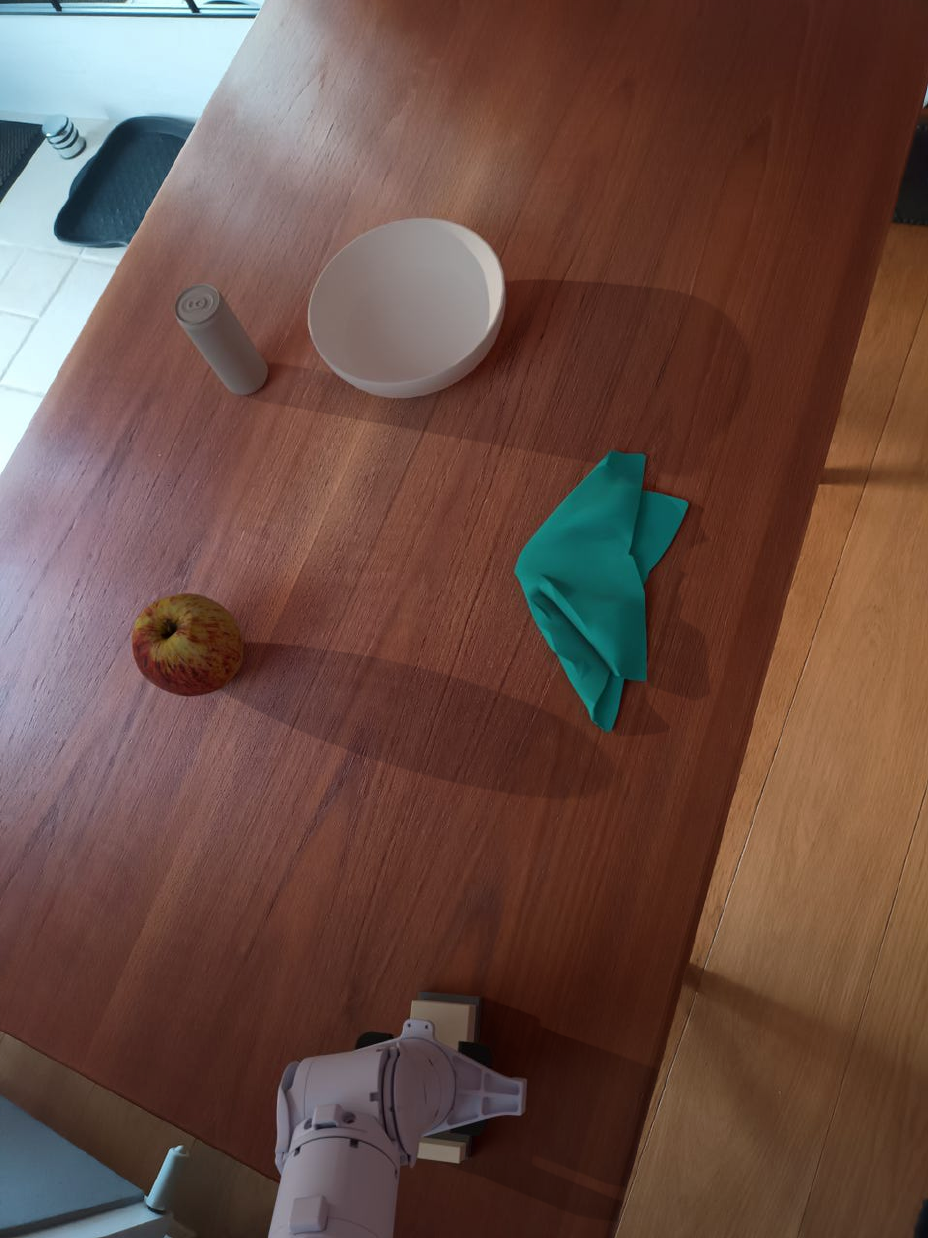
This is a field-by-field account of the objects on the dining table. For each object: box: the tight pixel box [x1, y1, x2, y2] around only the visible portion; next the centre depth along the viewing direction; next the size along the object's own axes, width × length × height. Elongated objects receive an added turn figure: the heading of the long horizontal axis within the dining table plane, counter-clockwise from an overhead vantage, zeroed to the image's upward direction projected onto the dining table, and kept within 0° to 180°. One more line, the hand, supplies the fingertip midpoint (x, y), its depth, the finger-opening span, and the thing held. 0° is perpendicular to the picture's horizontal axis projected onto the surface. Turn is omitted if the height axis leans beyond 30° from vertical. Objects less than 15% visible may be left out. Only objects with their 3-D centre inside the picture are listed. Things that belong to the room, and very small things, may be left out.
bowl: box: [307, 217, 507, 399], centre depth 94 cm, size 20×20×6 cm
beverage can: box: [173, 282, 269, 396], centre depth 94 cm, size 5×5×12 cm
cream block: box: [409, 990, 483, 1164], centre depth 70 cm, size 11×5×4 cm, turn 175°
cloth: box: [514, 449, 689, 732], centre depth 83 cm, size 26×14×2 cm, turn 162°
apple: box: [131, 592, 244, 697], centre depth 84 cm, size 9×9×10 cm
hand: (442, 1073), depth 71 cm, fingers closed on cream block, 4 cm apart
